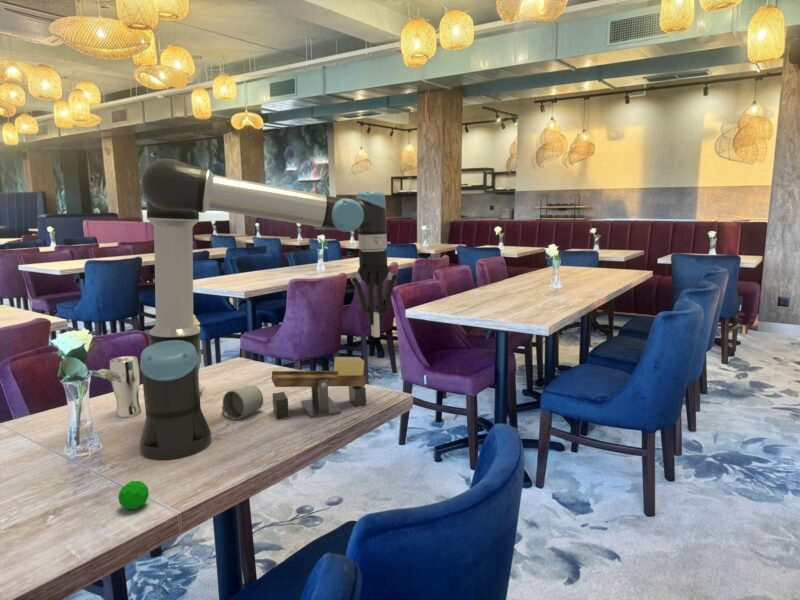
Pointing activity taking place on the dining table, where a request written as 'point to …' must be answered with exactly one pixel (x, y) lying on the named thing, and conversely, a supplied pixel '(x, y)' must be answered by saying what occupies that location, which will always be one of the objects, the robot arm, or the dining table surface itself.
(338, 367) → the block
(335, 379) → the beam
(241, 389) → the ceramic mug
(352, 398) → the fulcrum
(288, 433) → the dining table surface
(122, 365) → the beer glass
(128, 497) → the polyhedron
